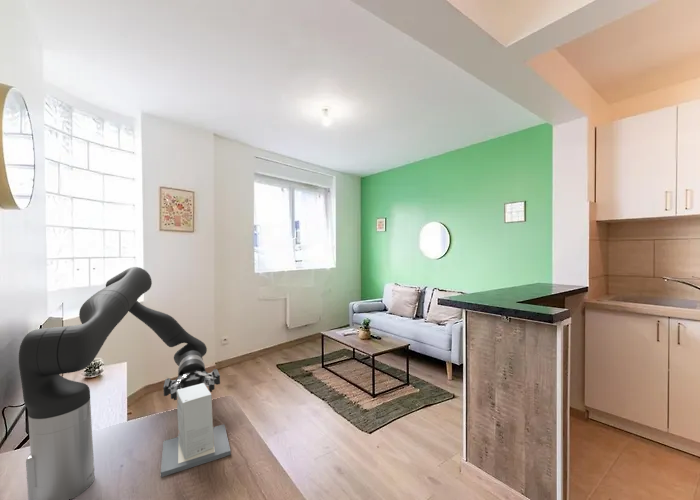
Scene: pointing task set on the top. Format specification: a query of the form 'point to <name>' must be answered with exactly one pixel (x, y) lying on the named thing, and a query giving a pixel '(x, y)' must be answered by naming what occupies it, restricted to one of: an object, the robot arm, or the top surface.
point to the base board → (177, 462)
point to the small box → (195, 420)
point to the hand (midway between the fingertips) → (193, 392)
